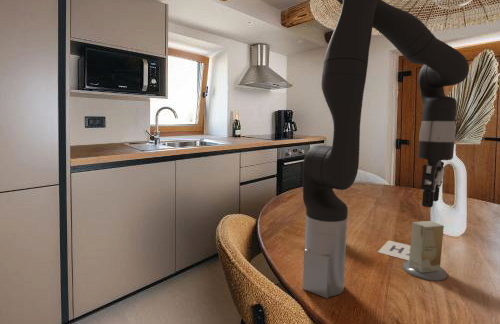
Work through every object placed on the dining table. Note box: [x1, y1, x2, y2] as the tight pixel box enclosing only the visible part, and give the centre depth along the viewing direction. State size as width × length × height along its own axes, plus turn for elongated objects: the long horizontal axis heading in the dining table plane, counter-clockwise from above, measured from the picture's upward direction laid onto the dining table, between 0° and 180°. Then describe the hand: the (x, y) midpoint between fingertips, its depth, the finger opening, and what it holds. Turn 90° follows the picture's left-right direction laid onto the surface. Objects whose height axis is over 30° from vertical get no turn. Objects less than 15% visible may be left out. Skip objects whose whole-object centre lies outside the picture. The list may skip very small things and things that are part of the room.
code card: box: [377, 239, 411, 261], centre depth 90 cm, size 12×12×1 cm
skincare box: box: [409, 220, 445, 273], centre depth 77 cm, size 6×4×12 cm
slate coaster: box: [402, 260, 448, 282], centre depth 78 cm, size 10×10×1 cm
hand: (430, 203), depth 75 cm, fingers open, 8 cm apart
